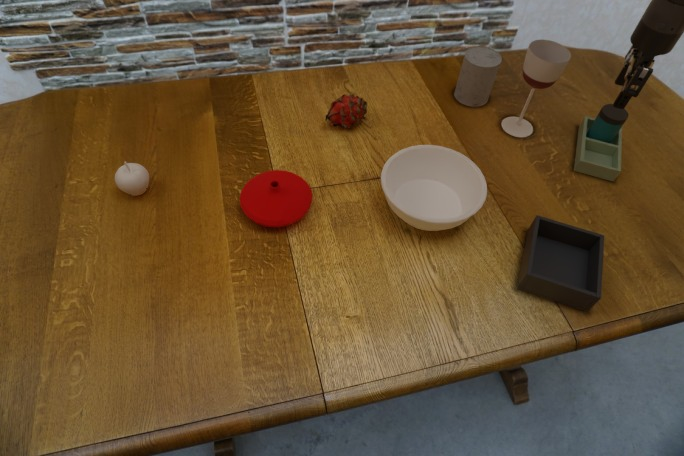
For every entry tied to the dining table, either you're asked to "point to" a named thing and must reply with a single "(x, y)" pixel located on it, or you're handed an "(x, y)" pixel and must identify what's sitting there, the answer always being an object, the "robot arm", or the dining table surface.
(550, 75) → the wineglass
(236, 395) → the dining table surface
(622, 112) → the travel mug
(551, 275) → the dark grey open box
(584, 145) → the green divided tray
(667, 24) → the robot arm
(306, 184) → the red disc with nozzle
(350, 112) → the dragon fruit
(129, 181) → the plain white apple
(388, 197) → the bowl
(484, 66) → the gray cylinder
